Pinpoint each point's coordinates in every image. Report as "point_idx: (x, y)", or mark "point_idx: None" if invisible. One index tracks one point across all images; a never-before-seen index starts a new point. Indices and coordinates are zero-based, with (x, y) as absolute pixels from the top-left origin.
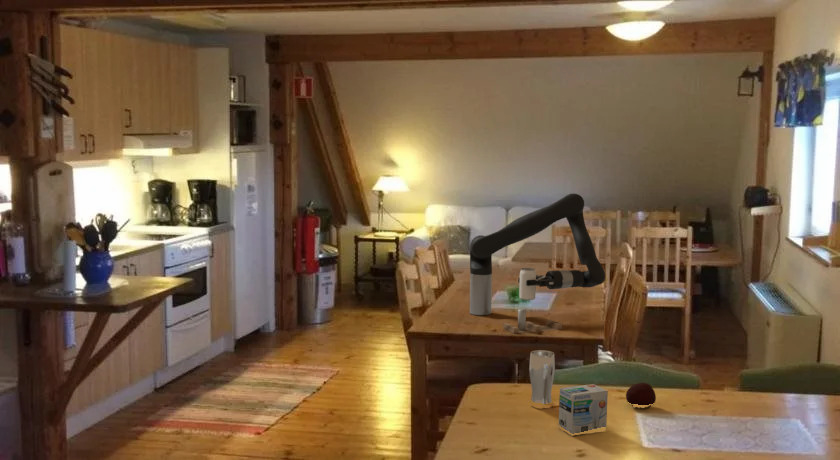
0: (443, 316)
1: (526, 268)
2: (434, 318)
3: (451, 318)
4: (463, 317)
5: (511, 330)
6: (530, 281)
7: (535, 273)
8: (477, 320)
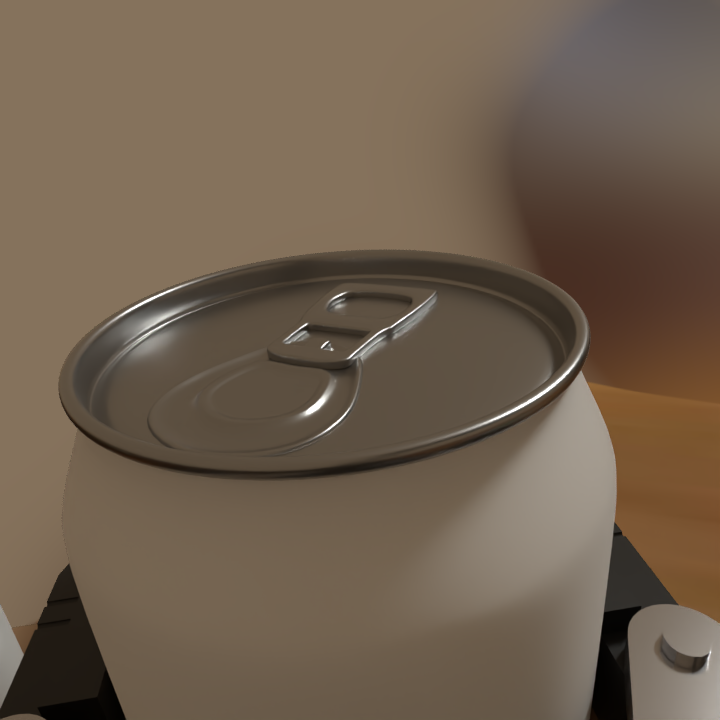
0: (676, 440)
1: (564, 325)
2: (607, 409)
3: (622, 462)
4: (674, 515)
5: None
6: (70, 579)
7: (100, 596)
8: None
